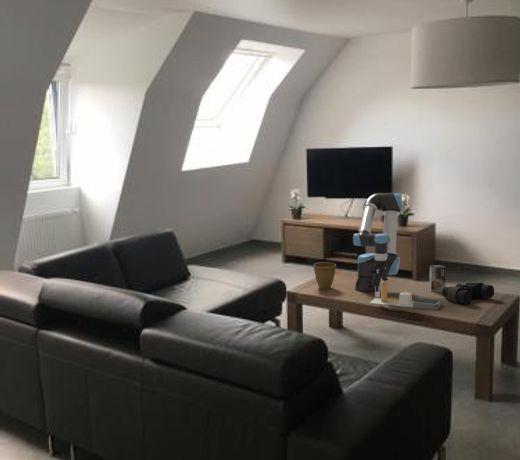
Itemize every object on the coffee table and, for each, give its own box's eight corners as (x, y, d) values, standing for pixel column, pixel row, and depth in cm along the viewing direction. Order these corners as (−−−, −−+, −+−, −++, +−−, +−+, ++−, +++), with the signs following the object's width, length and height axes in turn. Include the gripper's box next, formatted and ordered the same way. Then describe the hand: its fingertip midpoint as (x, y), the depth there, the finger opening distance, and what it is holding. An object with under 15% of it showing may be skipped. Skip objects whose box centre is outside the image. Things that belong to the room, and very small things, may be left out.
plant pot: (310, 290, 407) (310, 266, 404) (317, 284, 420) (317, 261, 418) (332, 291, 401) (332, 267, 398) (338, 286, 415) (338, 262, 412)
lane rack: (369, 303, 372) (369, 297, 372) (375, 298, 383) (375, 292, 382) (437, 311, 354) (437, 304, 354) (441, 305, 365) (441, 299, 364)
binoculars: (464, 307, 360) (463, 290, 359) (436, 302, 377) (435, 285, 376) (495, 298, 375) (494, 282, 374) (467, 294, 393) (466, 278, 392)
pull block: (379, 302, 373) (379, 282, 371) (382, 299, 378) (382, 280, 376) (409, 305, 365) (409, 285, 363) (411, 302, 370) (411, 283, 368)
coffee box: (443, 289, 401) (444, 265, 398) (445, 291, 394) (446, 267, 392) (429, 289, 402) (429, 265, 399) (430, 291, 395) (431, 267, 393)
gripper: (381, 264, 359) (380, 299, 362) (392, 255, 380) (392, 289, 384) (368, 263, 362) (368, 298, 366) (380, 254, 384) (380, 287, 388)
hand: (380, 293), depth 375 cm, fingers open, 13 cm apart
